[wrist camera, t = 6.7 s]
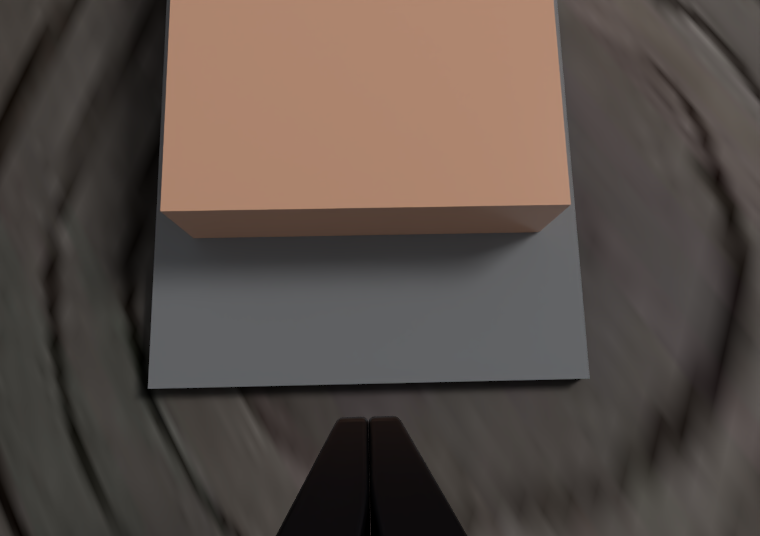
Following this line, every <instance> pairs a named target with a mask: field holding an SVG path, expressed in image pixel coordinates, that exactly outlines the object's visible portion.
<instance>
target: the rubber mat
mask: <svg viewBox="0 0 760 536" xmlns="http://www.w3.org/2000/svg"><path fill="white" fill-rule="evenodd" d="M554 12H555V24H556V35H557V47H558V59H559V71H560V82H561V94H562V106H563V118H564V129H565V141H566V153H567V164H568V176H569V188H570V200H571V205H570V206H569V207H568V208H566V209H565V210H564V211H563V212H562V213H561V214H559V215H558V216H557V217H556V218H555V219H554V220H553V221H551V222H550V223H549V224H548V225H547V226H546V227H544V228H543V229H542V230H541V231H540V232H525V233H467V234H409V235H352V236H294V237H237V238H193V237H191V236H190V235H189V234H188V233H186V232H185V231H184V230H183V229H182V228H180V227H179V226H178V225H177V224H175V223H174V222H173V221H172V220H170V219H169V218H168V217H167V216H166V215H164V214H163V213H162V212H161V211H160V207H161V186H162V165H163V144H164V123H165V102H166V81H167V60H168V39H169V18H170V0H167V6H166V27H165V47H164V68H163V88H162V109H161V129H160V150H159V170H158V191H157V211H156V232H155V252H154V273H153V293H152V314H151V334H150V355H149V375H148V389H163V388H206V387H249V386H292V385H335V384H378V383H421V382H465V381H508V380H551V379H590V376H589V365H588V353H587V342H586V330H585V319H584V307H583V296H582V284H581V272H580V261H579V249H578V238H577V226H576V215H575V203H574V192H573V180H572V168H571V157H570V145H569V134H568V122H567V111H566V99H565V88H564V76H563V64H562V53H561V41H560V30H559V18H558V7H557V0H554Z"/></svg>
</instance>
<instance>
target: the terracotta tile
mask: <svg viewBox="0 0 760 536" xmlns="http://www.w3.org/2000/svg"><path fill="white" fill-rule="evenodd" d="M570 205H571V200H570V188H569V176H568V164H567V153H566V141H565V129H564V118H563V106H562V94H561V82H560V71H559V59H558V47H557V35H556V24H555V12H554V0H170V18H169V39H168V60H167V81H166V102H165V123H164V144H163V165H162V186H161V207H160V211H161V212H162V213H163V214H164V215H166V216H167V217H168V218H169V219H170V220H172V221H173V222H174V223H175V224H177V225H178V226H179V227H180V228H182V229H183V230H184V231H185V232H186V233H188V234H189V235H190V236H191V237H193V238H237V237H294V236H352V235H409V234H467V233H525V232H540V231H541V230H542V229H543V228H544V227H546V226H547V225H548V224H549V223H550V222H551V221H553V220H554V219H555V218H556V217H557V216H558V215H559V214H561V213H562V212H563V211H564V210H565V209H566V208H568V207H569V206H570Z"/></svg>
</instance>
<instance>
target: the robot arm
mask: <svg viewBox="0 0 760 536" xmlns="http://www.w3.org/2000/svg"><path fill="white" fill-rule="evenodd" d="M369 473H370V487H369ZM370 523H371V536H467V534H466V533H465V531H464V529H463V527H462V526H461V524H460V522H459V521H458V519H457V517H456V515H455V514H454V512H453V510H452V508H451V507H450V505H449V503H448V501H447V500H446V498H445V496H444V495H443V493H442V491H441V489H440V488H439V486H438V484H437V482H436V481H435V479H434V477H433V475H432V474H431V472H430V470H429V469H428V467H427V465H426V463H425V462H424V460H423V458H422V456H421V455H420V453H419V451H418V449H417V448H416V446H415V444H414V443H413V441H412V439H411V437H410V436H409V434H408V432H407V430H406V429H405V427H404V425H403V423H402V422H401V420H400V419H399V418H398V417H396V416H381V417H372V418H370V420H369V437H368V420H367V419H366V418H365V417H343V418H340V419H338V420H337V422H336V423H335V425H334V427H333V428H332V430H331V432H330V434H329V436H328V438H327V440H326V442H325V444H324V446H323V447H322V449H321V451H320V453H319V455H318V457H317V459H316V461H315V463H314V465H313V466H312V468H311V470H310V472H309V474H308V476H307V478H306V480H305V482H304V484H303V485H302V487H301V489H300V491H299V493H298V495H297V497H296V499H295V501H294V502H293V504H292V506H291V508H290V510H289V512H288V514H287V516H286V518H285V520H284V521H283V523H282V525H281V527H280V529H279V531H278V533H277V535H276V536H370Z"/></svg>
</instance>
